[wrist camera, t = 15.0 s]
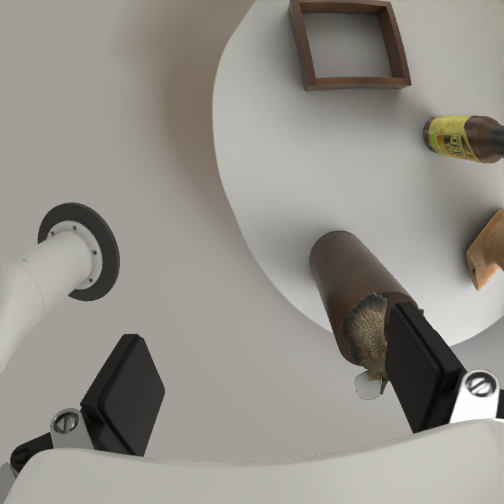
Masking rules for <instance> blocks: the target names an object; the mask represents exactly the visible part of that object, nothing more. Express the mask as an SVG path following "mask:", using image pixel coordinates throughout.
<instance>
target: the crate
mask: <svg viewBox="0 0 504 504" xmlns="http://www.w3.org/2000/svg"><path fill="white" fill-rule="evenodd" d="M288 10H289V14H290V19H291V23H292V27H293V32H294V37H295V41H296V46H297V51H298V56H299V61H300V66H301V71H302V77H303V82H304V88H305V91H312V90H328V89H358V88H378V89H402V88H405V87H408V86H410V85H411V79H410V74H409V69H408V65H407V60H406V56H405V52H404V47H403V43H402V40H401V36H400V32H399V28H398V25H397V22H396V18H395V15H394V12H393V9H392V5H391V2H388V1H380V0H290V3H289V8H288ZM302 13H354V14H369V15H377V16H378V19H379V23H380V26H381V30H382V34H383V38H384V41H385V46H386V50H387V54H388V58H389V63H390V68H391V72H392V77H393V78H389V77H331V78H315V73H314V68H313V63H312V58H311V53H310V48H309V43H308V39H307V34H306V30H305V26H304V21H303V17H302Z"/></svg>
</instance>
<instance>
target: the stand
mask: <svg viewBox="0 0 504 504" xmlns="http://www.w3.org/2000/svg"><path fill="white" fill-rule="evenodd" d="M309 264H310V268H311V271H312V274H313V277H314V279H315V282H316V285H317V288H318V290H319V293H320V296H321V299H322V301H323V304H324V307H325V310H326V313H327V315H328V318H329V321H330V324H331V327H332V330H333V333H334V335H335V339H336V341H337V345H338V347H339V350H340V352H341V354H342V355H343V357H344V358H345V359H346V360H348V361H349V362H350V363H352V364H355V365H358V366H361V365H360V364H357V363H356V361H354V360H353V358H352V357H351V354H350V349H351V348H350V347H349V339H348V335H347V333H348V332H347V330H346V327H347V324H346V322H347V320H348V315H349V312H350V311H352V310H353V306H354V305H356V306H358V301H359V300H360V299H361V298H364V297H365V295H366V294H367V293H369V294H371V293H373V292H374V293H376V295H382V297H383V298H386V299H387V306H386V312H385V317H384V338H385V342H387V340H388V331H389V320H390V310H391V308H394V306H395V304H396V303H400V302H405V301H411V302H412V303H413V304H414V305H415V307H416V308H417V309H419V307H418V305H417V303H416V302H415V301H414V299H413V298H412V297H411V296H410V295H409V294H408V292H407V291H406V290H405V289H404V288H403V287H402V286H401V284H400V283H399V282H398V281H397V280H396V279H395V278H394V277H393V275H392V274H391V273H390V272H389V271H388V270H387V269H386V268H385V267H384V266H383V264H382V263H381V262H380V261H379V260H378V259H377V258H376V257H375V256H374V255H373V254H372V253H371V252H370V251H369V249H368V248H367V247H366V246H365V245H364V244H363V243H362V242H361V241H360V240H359V239H358V238H357V237H356V236H354V235H353V234H351V233H349V232H345V231H334V232H330V233H328V234H326V235H324V236H322V237H321V238H320V239H319V240H318V241H317V242H316V243H315V244H314V246H313V248H312V250H311V253H310V258H309ZM363 367H364V366H363Z"/></svg>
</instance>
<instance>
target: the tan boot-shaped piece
mask: <svg viewBox="0 0 504 504" xmlns="http://www.w3.org/2000/svg"><path fill="white" fill-rule="evenodd" d="M466 254H467V263H468V268H469V272H470V276H471V278H472V282H473V284H474V286H475V288H476V289H477V290H478V291H479V290H480V289H481V288H482V287H483V286H484V285H485V284H486V282H487V281H488V280H489V279H490V278H491V277H492V276H493V274H494V273H495V272H496V271H497V269H498V268H499V267H500V268H501V269H502V270H503V271H504V209H501V210H499V211H498V212H497V213H496V214H495V215H494V216H493V217H492V218H491V219H490V220H489V222H488V223H487V224H486V226H485V227H484V228H483V230H482V231H481V232H480V234H479V235H478V236H477V238H476V239H475V240H474V242H473V243H472V244H471V246H470V247H469V248H468V250H467V252H466Z"/></svg>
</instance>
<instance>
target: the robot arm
mask: <svg viewBox="0 0 504 504" xmlns="http://www.w3.org/2000/svg"><path fill="white" fill-rule="evenodd" d="M102 264H103V261H102V254H101V250H100V247H99V244H98V242H97V240H96V239H95V237H94V235H93V234H92V233H91V232H90V231H89V230H88V229H87V228H86V227H85V226H83V225H82V224H80V223H78V222H75V221H70V220H68V221H63V222H60V223H58V224H56V225H55V226H54V227H53V228H52V229H51V230H50V232H49V233H48V236H47V239H46V240H45V241H43V242H41V243H39V244H38V245H36V246H34V247H33V248H31V249H29V250H28V251H25V252H24V253H22V254H20V255H19V256H17V257H15V258H14V259H12V260H10V261H9V262H7V263H5V264H4V265H2V266H1V267H0V374H1V372H2V371H3V369H4V368H5V366H6V365H7V363H8V361H9V359H10V357H11V356H12V354H13V352H14V351H15V349H16V348H17V346H18V345H19V343H20V342H21V341H22V340H23V338H24V337H25V336H26V335H27V334H28V333H29V332H30V331H31V330H32V329H33V328H34V326H35V325H37V324H38V323H39V322H40V321H41V320H42V319H43V318H44V317H45V316H46V315H47V314H48V313H49V312H50V311H51V310H52V309H53V308H55V307H56V306H57V305H58V304H59V303H60V302H61V301H62V300H63V299H64V298H65V297H66V296H68V295H69V294H70V293H71V292H72V291H73V290H74V289H86V288H88V287H90V286H92V285H93V284H94V283H95V282H96V281H97V280H98V278H99V276H100V274H101V271H102ZM385 370H386V373H387V375H388V377H389V379H390V382H391V384H392V386H393V388H394V390H395V392H396V394H397V397H398V399H399V401H400V404H401V406H402V408H403V411H404V413H405V415H406V418H407V420H408V422H409V425H410V427H411V430H412V432H413V434H412V435H408V436H405V437H401V438H397V439H394V440H390V441H386V442H382V443H377V444H373V445H370V446H365V447H360V448H356V449H350V450H346V451H340V452H335V453H328V454H321V455H315V456H307V457H299V458H290V459H279V460H266V461H248V462H247V461H245V462H202V461H201V462H200V461H181V460H167V459H157V458H147V457H143V456H144V454H145V450H146V448H147V444H148V441H149V438H150V435H151V432H152V430H153V426H154V424H155V421H156V418H157V415H158V412H159V409H160V406H161V403H162V401H163V398H164V394H165V389H164V385H163V383H162V381H161V379H160V376H159V374H158V372H157V369H156V367H155V365H154V362H153V360H152V358H151V355H150V353H149V350H148V348H147V345H146V343H145V341H144V339H143V338H142V337H140V336H139V335H138V334H124V335H123V336H122V337H121V339H120V340H119V342H118V343H117V345H116V346H115V348H114V350H113V351H112V353H111V354H110V356H109V357H108V359H107V361H106V362H105V364H104V365H103V367H102V368H101V370H100V372H99V373H98V375H97V377H96V378H95V380H94V382H93V383H92V385H91V387H90V388H89V390H88V391H87V393H86V395H85V396H84V398H83V400H82V402H81V403H80V405H81V407H82V408H81V410H80V411H78V410H77V409H73V408H68V409H64V410H62V411H60V412H58V413H57V414H56V415H55V416H54V417H53V419H52V420H51V423H50V432H49V433H46V434H44V435H42V436H40V437H38V438H35V439H33V440H31V441H29V442H26V443H24V444H22V445H20V446H18V447H17V448H16V449H15V450H14V451H13V453H12V454H11V458H10V463H11V464H8V462H6V463H5V464H3V465H2V466H1V467H0V504H504V390H502V389H500V381H499V379H498V377H497V376H496V375H495V374H494V373H492V372H490V371H488V370H485V369H474V370H471V371H469V372H467V371H466V369H465V368H464V367H463V365H462V364H461V362H460V361H459V360H458V358H457V357H456V356H455V354H454V353H453V352H452V350H451V349H450V348H449V346H448V345H447V344H446V343H445V341H444V340H443V339H442V337H441V336H440V335H439V334H438V332H437V331H436V330H434V329H433V328H432V326H431V325H430V324H429V323H428V321H427V320H426V319H425V318H424V316H423V315H422V314H421V313H420V312H419V310H418V309H417V308H416V307H415V305H414V304H413V303H412V302H411V301H405V302H400V303H396V304H395V306H394V308H391V310H390V320H389V331H388V340H387V348H386V356H385Z"/></svg>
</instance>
